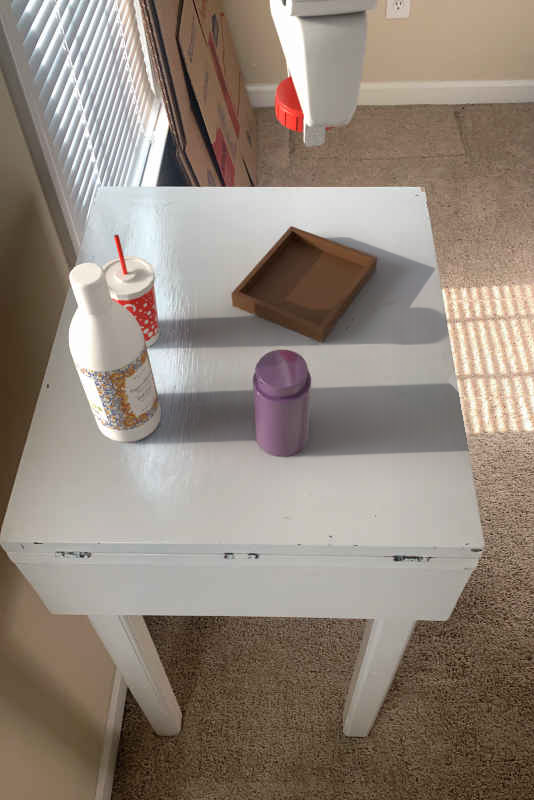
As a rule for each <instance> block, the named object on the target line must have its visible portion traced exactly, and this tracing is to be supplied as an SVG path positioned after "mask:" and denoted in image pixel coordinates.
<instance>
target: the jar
mask: <svg viewBox="0 0 534 800" xmlns="http://www.w3.org/2000/svg"><path fill="white" fill-rule="evenodd" d="M254 370H255V371H254V372H253V375H252V393H253V394H252V395H253V410H254V411H253V412H254V430H255V432H254V433H255V440H256V443H257V445H258V447H259V448H260V449H261V450H262V451H263V452H265V453H267V454H268V455H270V456H274V457H280V458H281V457H283V458H284V457H290V456H293V455H295V454H298V453H300V451H301V450H303V449H304V448H305V446H306V445H307V443H308V440H309V432H310V431H309V430H310V411H311V397H312V396H311V395H312V375H311V372H310V371H309V367H308V363H307V362H306V360H305V358H304V357H303V356H302V355H300V354H299V353H297V352H295V351H293V350H290V349H274V350H271V351H268V352H267V353H265V354H264V355H262V357H260V359H259V360H258V361H257V363H256V365H255V368H254Z"/></svg>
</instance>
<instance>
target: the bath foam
mask: <svg viewBox="0 0 534 800" xmlns="http://www.w3.org/2000/svg"><path fill="white" fill-rule="evenodd" d="M102 267H103V266H101V265H99V264H97V263H95V262H82V263H81V264H78V265H76V266H74V267H73V268H72V269H71V271H70V273H69V281H70V285H71V288H72V291H73V294H74V297H75V299H76V303H77V305H78V307H77V309H76V311H75V313H74V315H73V317H72V320H71V323H70V326H69V331H68V343H69V350H70V354H71V357H72V360H73V362H74V365H75V368H76V370H77V373H78V376H79V379H80V381H81V383H82V387H83V389H84V392H85V394H86V398H87V401H88V403H89V405H90V409H91V411H92V414H93V416H94V418H95V421H96V424H97V426H98V429H99V431H100V432H101V433H102V434H103V435H104V436H105V437H107V438H109V439H110V440H112V441H115V442H120V443H132V442H133V443H134V442H138V441H140V440H142V439H145V438H147V437H148V436H149V435H151V434H152V433H153V432H154V431H155V430H156V429H157V427H158V426H159V424H160V422H161V419H162V408H161V403H160V399H159V394H158V390H157V387H156V382H155V377H154V373H153V368H152V365H151V361H150V357H149V351H148V347H146V343H145V339H144V335H143V332H142V330H141V328H140V325H139V324H138V322H137V320H136V319H135V317H134V316H133V315H132V314H131V313H130V312H129V311H128V310H127V309H126V308H125V307H124V306H122V305H121V304H119V303H118V302H116V301H114V300H113V299H111V295H110V291H109V288H108V284H107V280H106V277H105V273H104V271H103V269H102Z"/></svg>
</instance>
